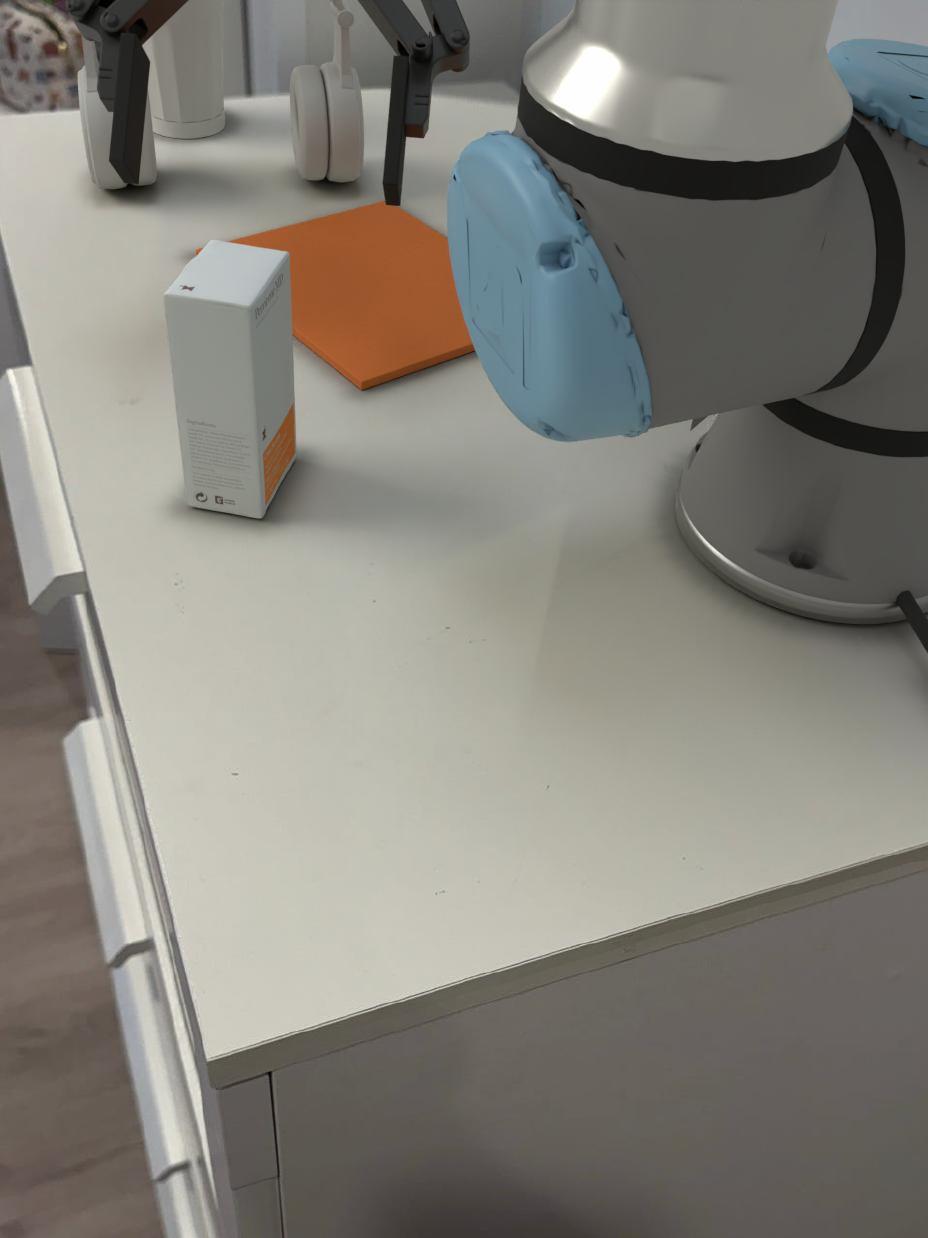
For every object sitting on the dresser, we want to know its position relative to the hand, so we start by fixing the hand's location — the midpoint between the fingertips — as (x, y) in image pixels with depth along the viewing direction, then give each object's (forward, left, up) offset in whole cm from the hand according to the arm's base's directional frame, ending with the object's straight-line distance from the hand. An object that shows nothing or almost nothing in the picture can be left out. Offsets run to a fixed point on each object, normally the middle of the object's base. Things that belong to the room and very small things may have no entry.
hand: (257, 184), depth 60 cm
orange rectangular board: (+12, -10, -13) cm, 20 cm away
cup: (+43, -3, -13) cm, 45 cm away
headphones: (+31, -4, -13) cm, 33 cm away
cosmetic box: (-7, +3, -13) cm, 15 cm away
